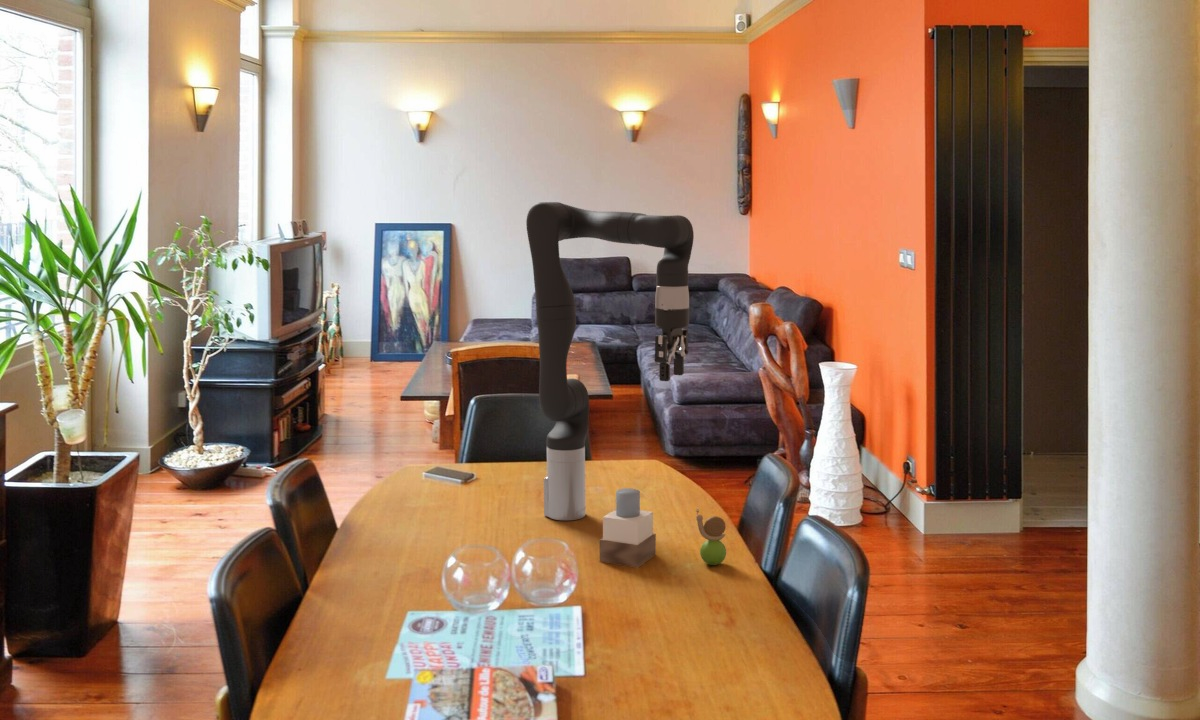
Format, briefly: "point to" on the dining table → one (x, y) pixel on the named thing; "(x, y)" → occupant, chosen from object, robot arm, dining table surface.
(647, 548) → the tower base
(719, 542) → the snail figurine
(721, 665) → the dining table surface
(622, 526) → the tower top
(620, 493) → the grey blue cylinder
